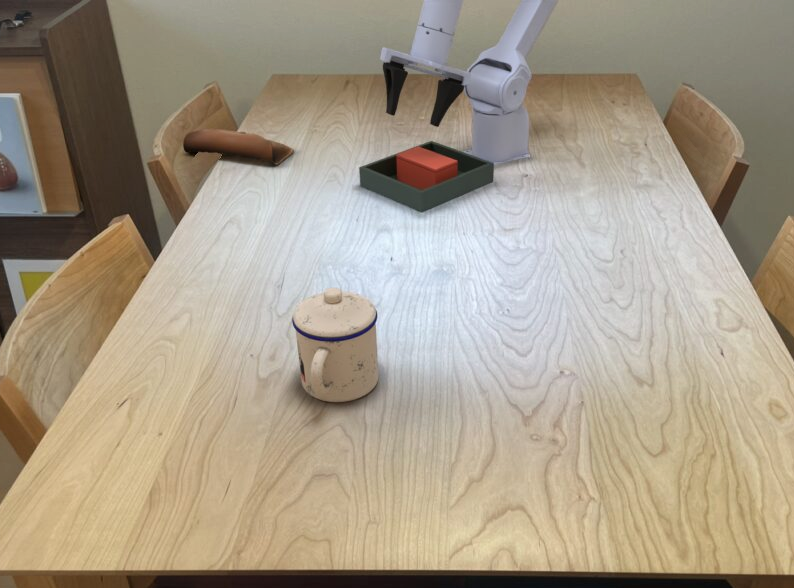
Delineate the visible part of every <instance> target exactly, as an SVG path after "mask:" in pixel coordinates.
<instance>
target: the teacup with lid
mask: <svg viewBox="0 0 794 588" xmlns="http://www.w3.org/2000/svg"><path fill="white" fill-rule="evenodd" d="M377 321H378V311H377V309H376V307H375V305H374V304H373V302H372V301H371V300H370V299H368V298H367V297H366V296H364V295H362V294H359V293H355V292H351V291H343V290H342V289H340V288H338V287H329V288H327V289H325V290H324V292H320V293H317V294H314V295H312V296H309V297H307V298H306V299H304V300H302V301H301V302H300V303H298V304H297V307H296V308H295V309H294V312H293V315H292V319H291V324H292V327H293V328H294V329H295V336H296V338H295V339H296V346H297V353H298V354H297V355H298V361H299V362H298V363H299V370H300V378H301V379H300V380H301V385H302V387H303V389H304V390H305V392H306V393H307V394H308V395H310V396H311V397H313V398H314V399H317V400H319V401H323V402H329V403H344V402H350V401H351V402H352V401H354V400H357V399H360V398H362V397H364V396H366V395H367V394H369V393H371V391H373V390H374V388H375V387H376V385H377V384H378V381H379V375H380V374H379V356H378V339H377V324H376V323H377Z"/></svg>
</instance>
